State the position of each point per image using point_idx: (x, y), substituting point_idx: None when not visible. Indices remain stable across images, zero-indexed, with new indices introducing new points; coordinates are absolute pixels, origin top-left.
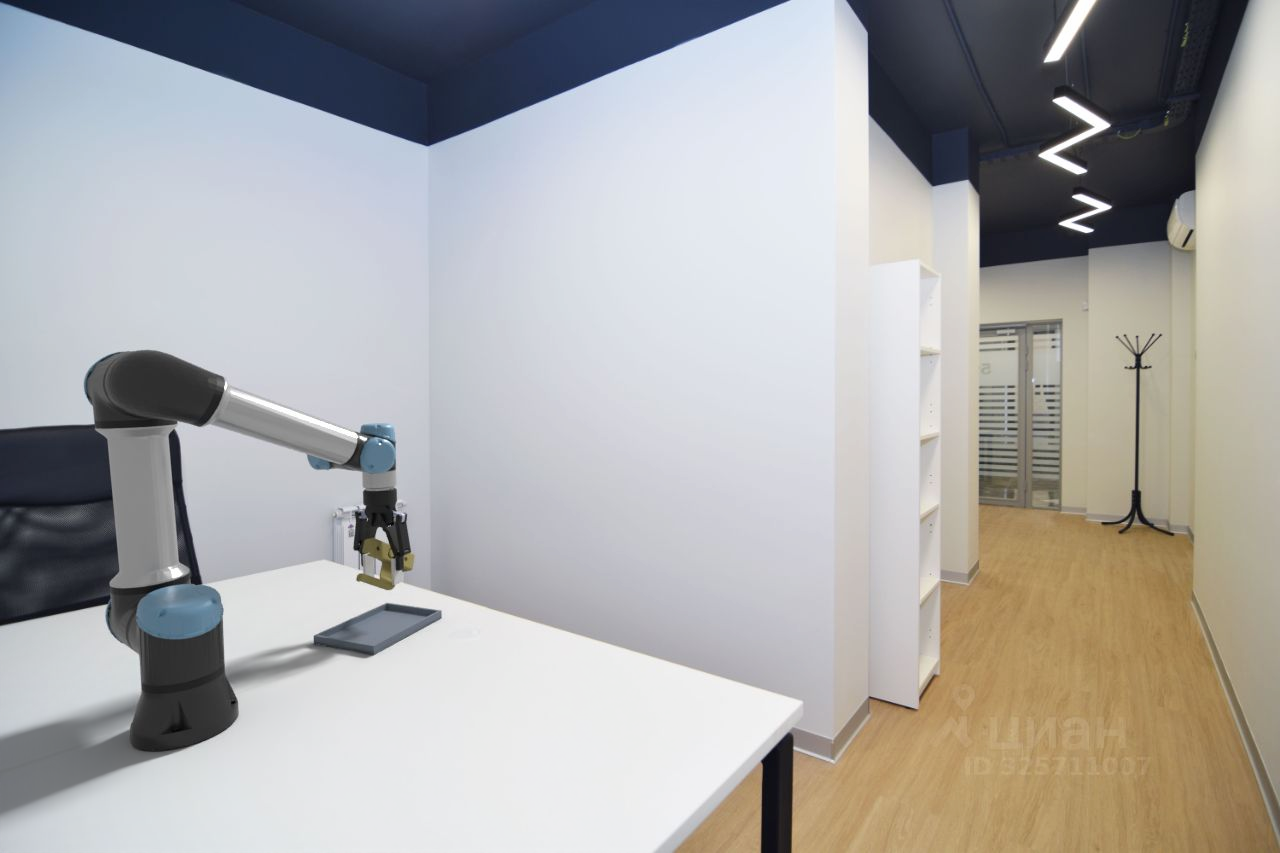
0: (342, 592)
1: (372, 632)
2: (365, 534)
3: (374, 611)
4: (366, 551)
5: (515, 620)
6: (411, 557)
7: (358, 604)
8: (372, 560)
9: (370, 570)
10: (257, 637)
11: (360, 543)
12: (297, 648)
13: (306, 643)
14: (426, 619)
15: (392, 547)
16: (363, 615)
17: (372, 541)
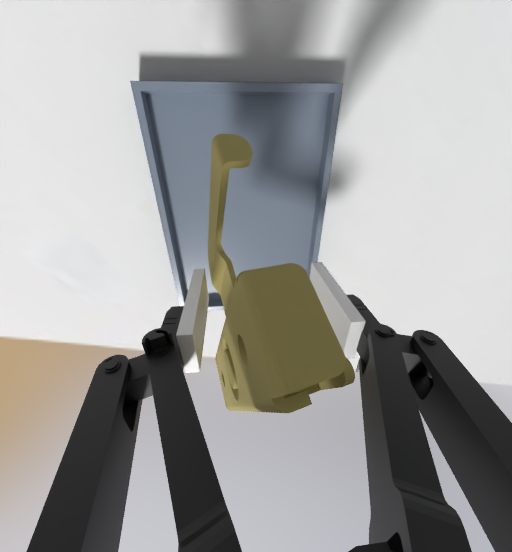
0: (433, 322)
1: (242, 191)
2: (416, 434)
3: (309, 269)
4: (261, 273)
5: (57, 339)
6: (223, 393)
7: (374, 295)
8: None
9: (319, 298)
10: (498, 70)
11: (428, 379)
12: (357, 44)
13: (355, 86)
14: (172, 272)
15: (172, 386)
16: (314, 242)
17: (264, 371)
